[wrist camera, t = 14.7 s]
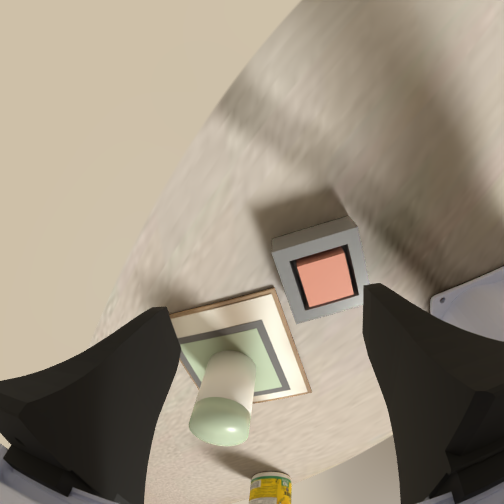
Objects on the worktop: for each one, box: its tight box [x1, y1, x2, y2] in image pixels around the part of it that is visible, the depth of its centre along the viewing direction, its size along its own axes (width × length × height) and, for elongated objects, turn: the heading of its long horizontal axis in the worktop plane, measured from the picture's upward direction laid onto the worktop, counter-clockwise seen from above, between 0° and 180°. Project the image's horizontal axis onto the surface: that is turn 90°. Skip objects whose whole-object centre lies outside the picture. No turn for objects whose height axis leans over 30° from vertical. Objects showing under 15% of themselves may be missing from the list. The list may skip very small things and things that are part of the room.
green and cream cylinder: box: [189, 350, 256, 446], centre depth 20 cm, size 4×4×6 cm
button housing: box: [271, 216, 370, 324], centre depth 18 cm, size 5×5×2 cm
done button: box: [296, 246, 354, 307], centre depth 18 cm, size 3×3×1 cm
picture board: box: [169, 288, 312, 404], centre depth 23 cm, size 10×11×1 cm
